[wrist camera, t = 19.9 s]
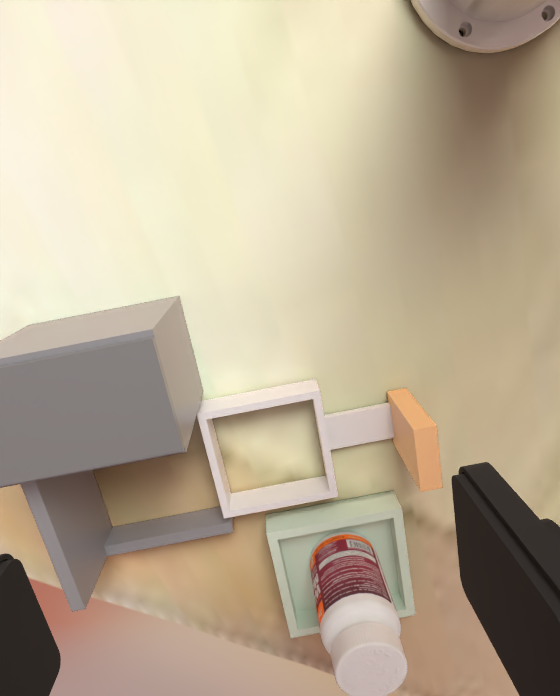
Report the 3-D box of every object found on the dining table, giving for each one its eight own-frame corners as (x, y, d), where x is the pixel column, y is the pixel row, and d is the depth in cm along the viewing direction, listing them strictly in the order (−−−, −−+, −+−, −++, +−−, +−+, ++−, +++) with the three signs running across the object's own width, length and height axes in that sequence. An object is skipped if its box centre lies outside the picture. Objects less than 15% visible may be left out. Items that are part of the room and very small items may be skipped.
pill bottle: (297, 547, 43) (310, 662, 33) (357, 517, 43) (392, 624, 32) (328, 594, 45) (350, 718, 34) (387, 566, 44) (429, 683, 34)
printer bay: (179, 295, 37) (150, 331, 27) (234, 513, 43) (227, 610, 33) (28, 325, 37) (-57, 372, 27) (104, 538, 43) (57, 642, 33)
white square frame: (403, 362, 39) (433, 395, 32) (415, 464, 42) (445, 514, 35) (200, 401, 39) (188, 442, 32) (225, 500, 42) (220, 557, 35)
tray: (393, 490, 43) (401, 508, 40) (407, 592, 46) (415, 614, 44) (265, 514, 43) (266, 533, 40) (288, 614, 46) (290, 638, 44)
